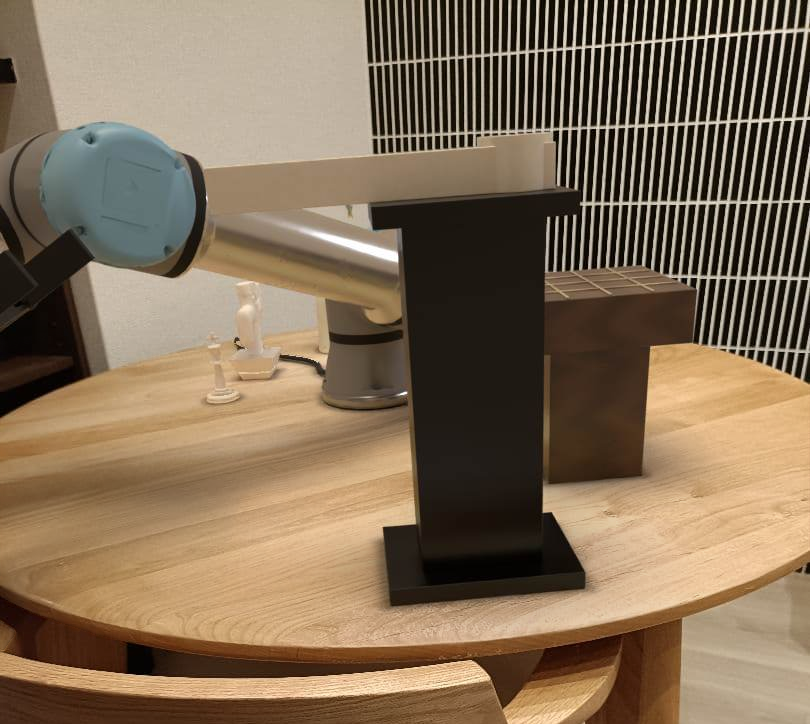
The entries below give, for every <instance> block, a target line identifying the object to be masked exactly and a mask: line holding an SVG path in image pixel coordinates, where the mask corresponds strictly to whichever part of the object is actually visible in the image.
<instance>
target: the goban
mask: <svg viewBox="0 0 810 724" xmlns="http://www.w3.org/2000/svg"><path fill="white" fill-rule="evenodd" d="M697 299H698V289H697V288H695V287H693V286H692V285H691V286H690V285H688V284H687V283H684V282H682V281H679V280H676V279H674V278H673V277H672V278H671V277H670V276H667V275H665V274H663V273H660V272H658V271H655V270H653V269H650V268H648V267H646V266H644V265H640V264H639V265H628V266H613V267H602V268H590V269H589V268H587V269H576V270H572V269H571V270H564V271H563V270H562V271H552V272H545V336H544V442H543V477H544V478H545V480H546V481H547V483H548V484H559V483H560V484H562V483H571V482H583V481H594V480H605V479H618V478H628V477H639V476H640V477H641V476H643V465H644V464H643V463H644V462H643V461H644V448H645V447H644V446H645V436H646V435H645V434H646V419H647V417H646V416H647V402H648V390H649V389H648V388H649V373H650V360H651V359H650V358H651V347H660V346H661V347H662V346H675V345H684V344H693V342H694V333H695V320H696V309H697Z"/></svg>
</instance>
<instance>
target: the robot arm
mask: <svg viewBox="0 0 810 724" xmlns="http://www.w3.org/2000/svg"><path fill="white" fill-rule="evenodd" d="M203 168H204V166H203V165H202V163H201V162H200V160H199V159H197V158H196V157H194V156H192V155H191V154H187V153H185V152H182V151H178V150H176V149H175V150H174V149H173V148H171V146H169V145H168V144H167V143H165V142H164V141H163V140H162V139H161V138H159V137H158V136H156V135H154V134H152V133H151V132H149V131H147V130H144V129H142V128H139V127H136V126H133V125H130V124H127V123H126V124H125V123H122V122H116V121H97V122H88V123H85V124H82V125H79V126H77V127H75V128H69V129H61V130H60V129H59V130H58V129H57V130H50V131H45V132H41V133H37V134H35V135H33V136H31V137H29V138H27V139H25V140H23V141H21V142H19V143H17V144H15V145H14V146H12V147H11V148H10V147H9V149H7V150H5V151H3V152H1V153H0V332H2V331H3V330H4V329H5V328H7V327H9V326H10V325H11V324H13V323H14V322H16V321H17V320H18V319H19V318H21V317H22V316H23V315H25V314H26V313H27V312H29V311H33V310H34V309H36V308H37V306H38V304H39V303H40V302H41V301H42V300H44V299H45V298H46V297H47V296H48V295H50V294H51V293H52V292H54V291H55V290H56V289H58V288H59V287H60V286H61V285H62V284H64V283H65V282H67V281H68V280H69V279H70V278H72V277H73V276H74V275H75V274H76V273H78V272H79V271H81V270H82V269H83V268H84V267H85V266H87V265H88V264H90V263H96V264H100V265H103V266H107V267H111V268H114V269H121V270H122V269H123V270H130V271H135V272H140V273H145V274H149V275H153V276H158V277H163V278H168V279H173V280H175V279H180V278H182V277H184V276H185V275H186V274H187V273H188V272H189V271H191V270H192V269H193V268H194V269H198V270H202V271H205V272H210V273H215V274H220V275H223V276H224V275H225V276H228V277H232V278H236V279H241V280H245V281H253V282H257V283H259V284H262V285H266V286H271V287H275V288H279V289H283V290H288V291H293V292H296V293H301V294H305V295H308V296H313V297H316V296H317V297H322V298H325V305H326V314H327V323H328V331H329V341H330V348H329V353H327V358H326V365H325V369H324V368H323V367H322V363H320V362H319V361H318V363H317V362H316V361H314V360H311V359H308V358H309V357H308V358H303V357H304V356H302V357H296V356H297V355H295V356H289V355H290V354H288V355H281V354H282V353H280V356H279V359H281V360H288V361H295V362H302V363H307V364H311V365H313V366H315V368H316V371H317V372H318V374H320V375H322V376H324V377H323V379H322V382H321V383H322V384H321V392H322V399H323V401H324V402H325V403H326V404H329V405H330V406H334V407H337V408H342V409H352V410H353V409H354V410H371V409H373V410H374V409H383V408H384V409H385V408H391V407H395V406H400V405H404V404H408V399H407V384H406V369H405V354H404V339H403V324H402V310H401V295H400V280H399V265H398V250H397V235H396V229H388V230H375V231H373V229H372V227H365V228H364V227H361V226H359V225H356V224H352V223H348V222H346V221H342V220H339V219H336V218H333V217H330V216H326V215H323V214H320V213H317V212H314V211H311V210H307V209H306V208H302V209H289V210H276V211H263V212H250V213H237V214H224V215H210V212H209V206H208V199H207V193H206V187H205V181H204V174H203ZM236 341H240V339H239V336H235V337H234V340H233V344H234V343H236ZM235 345H236V348H237V349H239V350H240V349H245V348H243V347H241V346H239V345H237V344H235Z"/></svg>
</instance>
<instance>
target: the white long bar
mask: <svg viewBox="0 0 810 724" xmlns="http://www.w3.org/2000/svg"><path fill="white" fill-rule="evenodd" d="M556 151H557V143H556V141H554V140H553V132H552V131H537V132H524V133H522V132H521V133H508V134H496V135H494V134H493V135H483V136H477V137H476V145H473V146H459V147H448V148H447V147H445V148H433V149H420V150H419V149H418V150H406V151H395V152H394V151H391V152H380V153H366V154H352V155H340V156H339V155H338V156H328V157H327V156H326V157H312V158H311V157H310V158H301V159H286V160H285V159H284V160H274V161H273V160H272V161H260V162H259V161H258V162H245V163H235V164H234V163H233V164H219V165H209V166H205V167H203V174H204V181H205V187H206V193H207V199H208V206H209V212H210V215H224V214H237V213H250V212H263V211H276V210H289V209H311V208H312V209H314V208H315V209H316V208H326V207H338V206H339V207H340V206H341V207H342V206H345V205H352V206H353V205H366V204H367V203H380V202H393V201H406V200H419V199H432V198H445V197H458V196H471V195H484V194H499V193H518V192H530V191H539V190H549V189H555V185H556V165H557V163H556V157H557V156H556V155H557V154H556Z"/></svg>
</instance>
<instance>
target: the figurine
mask: <svg viewBox="0 0 810 724" xmlns="http://www.w3.org/2000/svg"><path fill="white" fill-rule="evenodd" d="M235 288H236V292H237V296H238V300H239V301H238V302H239V306H240V307H239V309H238V310H237V312H236V317H235V318H236V325H237V326H236V327H237V332H238V333H237V334H238V338H239V339H240V343H241V344H242V345H245V347H246V348H247V349H239V350H237V352H235V353H234V354H233V355H232V356H231V357H230V358H229V359H228V362H229V363H230V364H231V366H232V367H233V368H234V370H235V372H237V373H238V372H261V371H264V372H265V371H271V370H272V369H273V368H274V366H275V365H276V364H277V365H276V366H275V368H274V369H273V370H272V371H271V372H270V373H259V374H238V375H239V377H240V378H241V379H242V380H245V381H247V380H267V379H270V378H271V377H272V376H273V375H274V374H275V372H276V369H277V366H278V363H279V359H280V358H279V356H280V354H282V349H283V346H276V347H264V342H263V335H262V328H261V322H260V320H261V319H260V316H261V315H262V313H263V309H264V308H263V298H262V292H261V286H260V283H257V282H253V281H249V280H246V281H242V282H237V283H235Z"/></svg>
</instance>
